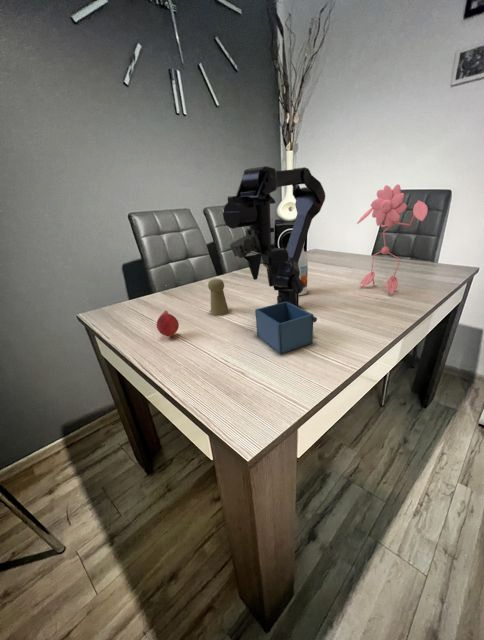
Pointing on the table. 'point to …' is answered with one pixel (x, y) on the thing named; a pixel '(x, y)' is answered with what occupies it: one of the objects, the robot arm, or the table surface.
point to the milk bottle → (303, 271)
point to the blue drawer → (284, 326)
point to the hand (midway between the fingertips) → (263, 282)
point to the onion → (167, 324)
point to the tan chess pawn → (217, 297)
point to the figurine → (390, 223)
